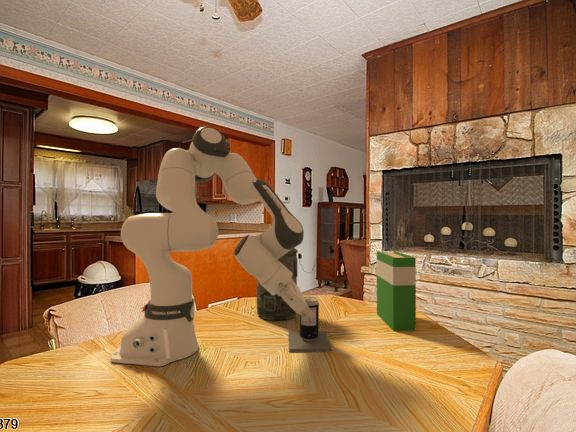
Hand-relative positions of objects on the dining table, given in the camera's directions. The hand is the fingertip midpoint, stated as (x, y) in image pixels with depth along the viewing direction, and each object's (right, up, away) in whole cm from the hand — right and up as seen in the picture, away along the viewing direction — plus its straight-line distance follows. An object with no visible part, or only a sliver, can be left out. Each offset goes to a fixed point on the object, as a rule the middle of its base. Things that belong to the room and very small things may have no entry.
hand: (311, 311), depth 94 cm
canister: (-11, -9, +25) cm, 29 cm away
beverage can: (-1, -8, 0) cm, 8 cm away
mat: (-1, -9, 0) cm, 9 cm away
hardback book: (+31, -9, +17) cm, 36 cm away
